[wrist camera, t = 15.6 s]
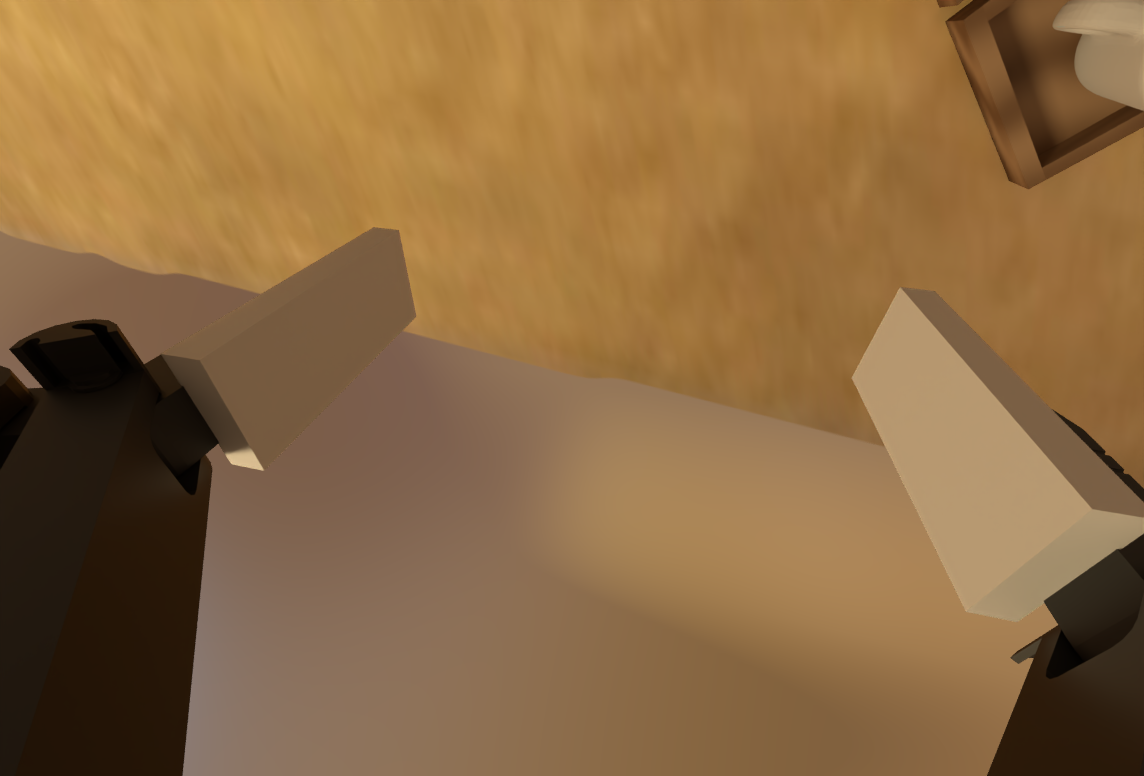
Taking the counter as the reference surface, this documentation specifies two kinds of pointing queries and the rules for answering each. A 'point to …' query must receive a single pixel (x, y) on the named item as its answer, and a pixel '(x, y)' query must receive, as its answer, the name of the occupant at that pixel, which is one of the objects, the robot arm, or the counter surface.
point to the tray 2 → (1034, 88)
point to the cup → (1108, 47)
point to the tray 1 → (948, 2)
